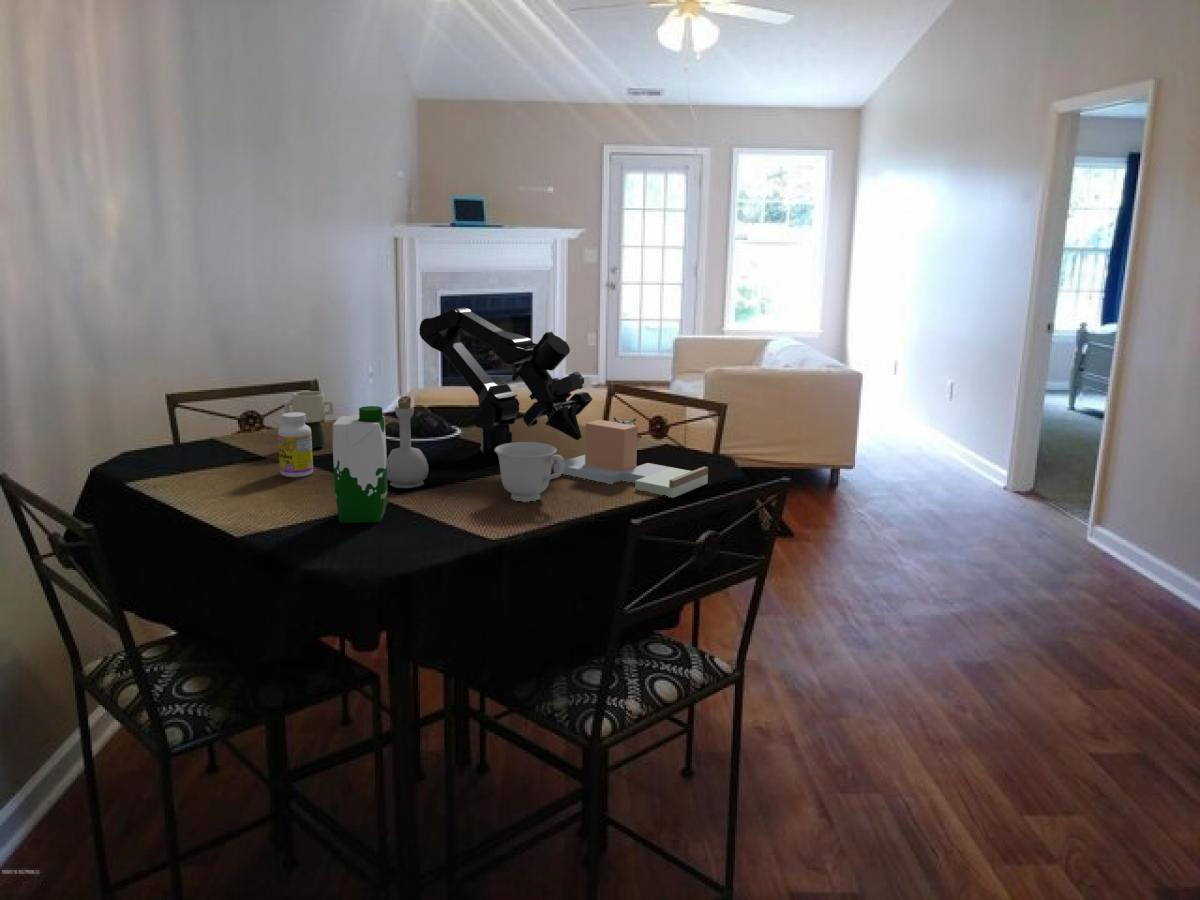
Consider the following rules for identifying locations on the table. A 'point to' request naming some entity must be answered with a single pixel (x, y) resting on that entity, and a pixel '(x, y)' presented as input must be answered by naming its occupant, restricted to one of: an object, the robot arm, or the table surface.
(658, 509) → the table surface
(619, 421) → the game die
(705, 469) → the trap board
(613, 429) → the block
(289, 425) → the supplement bottle
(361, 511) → the milk carton
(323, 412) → the character mug
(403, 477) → the potion bottle
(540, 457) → the teacup
